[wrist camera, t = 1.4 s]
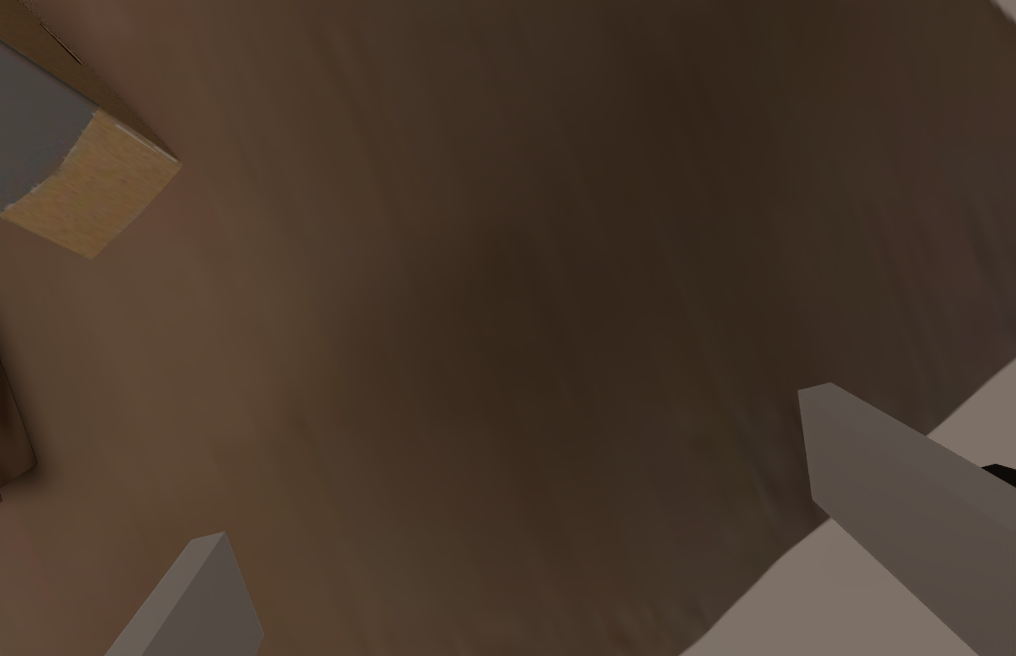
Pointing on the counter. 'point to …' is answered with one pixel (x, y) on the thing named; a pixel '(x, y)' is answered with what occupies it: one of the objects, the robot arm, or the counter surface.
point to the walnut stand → (12, 437)
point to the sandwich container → (69, 143)
